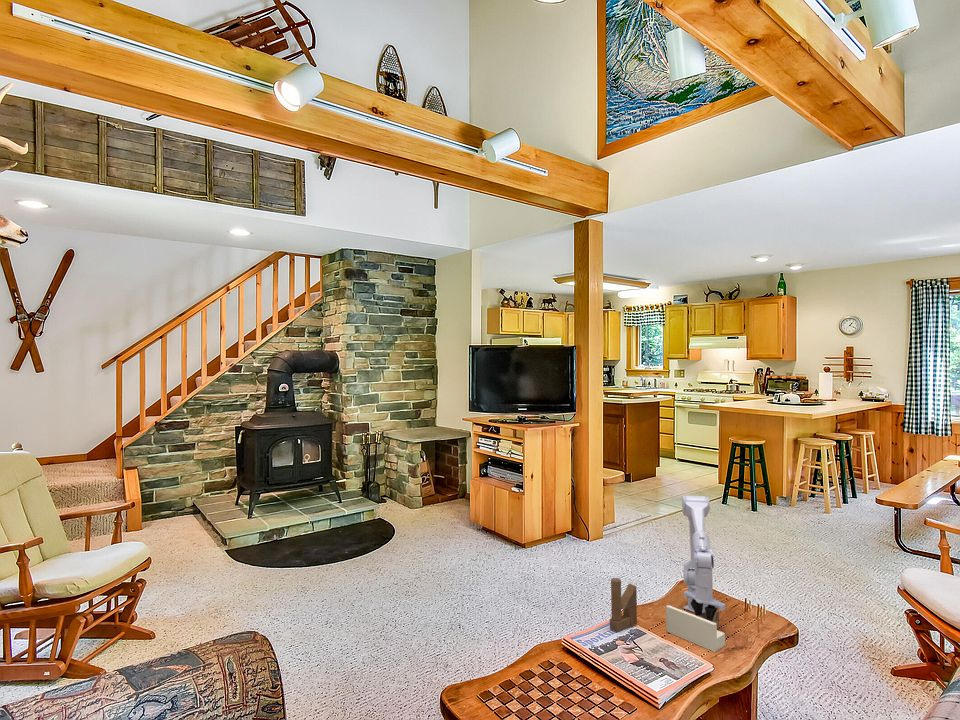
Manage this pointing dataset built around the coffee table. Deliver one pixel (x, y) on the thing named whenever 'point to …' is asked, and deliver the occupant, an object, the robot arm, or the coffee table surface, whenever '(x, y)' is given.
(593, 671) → the coffee table surface
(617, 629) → the brown upright shaped block
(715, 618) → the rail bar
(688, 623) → the stepped cream panel
